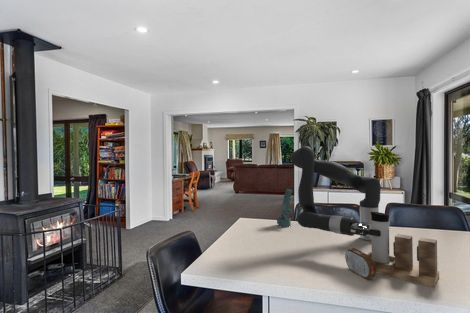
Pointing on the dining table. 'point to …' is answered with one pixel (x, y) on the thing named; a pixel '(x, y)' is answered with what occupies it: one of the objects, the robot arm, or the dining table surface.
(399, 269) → the brown wooden piece
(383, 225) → the travel mug
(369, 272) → the tin
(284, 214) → the teal textured tall figure
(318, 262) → the dining table surface
